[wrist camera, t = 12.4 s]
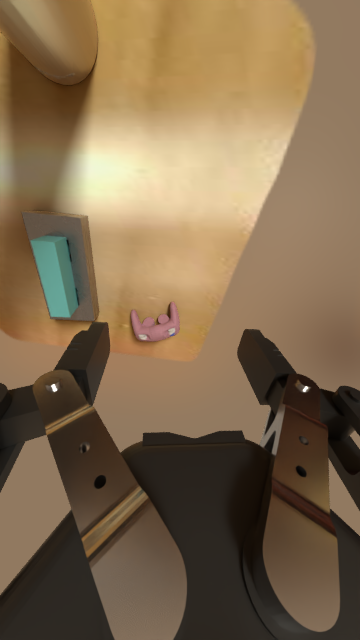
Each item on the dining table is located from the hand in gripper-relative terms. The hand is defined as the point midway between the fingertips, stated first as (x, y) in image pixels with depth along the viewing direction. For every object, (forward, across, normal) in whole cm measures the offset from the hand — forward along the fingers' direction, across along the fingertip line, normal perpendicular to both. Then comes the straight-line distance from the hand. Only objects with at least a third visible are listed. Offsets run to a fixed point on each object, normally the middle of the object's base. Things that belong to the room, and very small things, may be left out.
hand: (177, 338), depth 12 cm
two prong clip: (+28, +17, +6) cm, 33 cm away
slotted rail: (+28, +17, +6) cm, 33 cm away
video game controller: (+28, +1, +15) cm, 32 cm away
